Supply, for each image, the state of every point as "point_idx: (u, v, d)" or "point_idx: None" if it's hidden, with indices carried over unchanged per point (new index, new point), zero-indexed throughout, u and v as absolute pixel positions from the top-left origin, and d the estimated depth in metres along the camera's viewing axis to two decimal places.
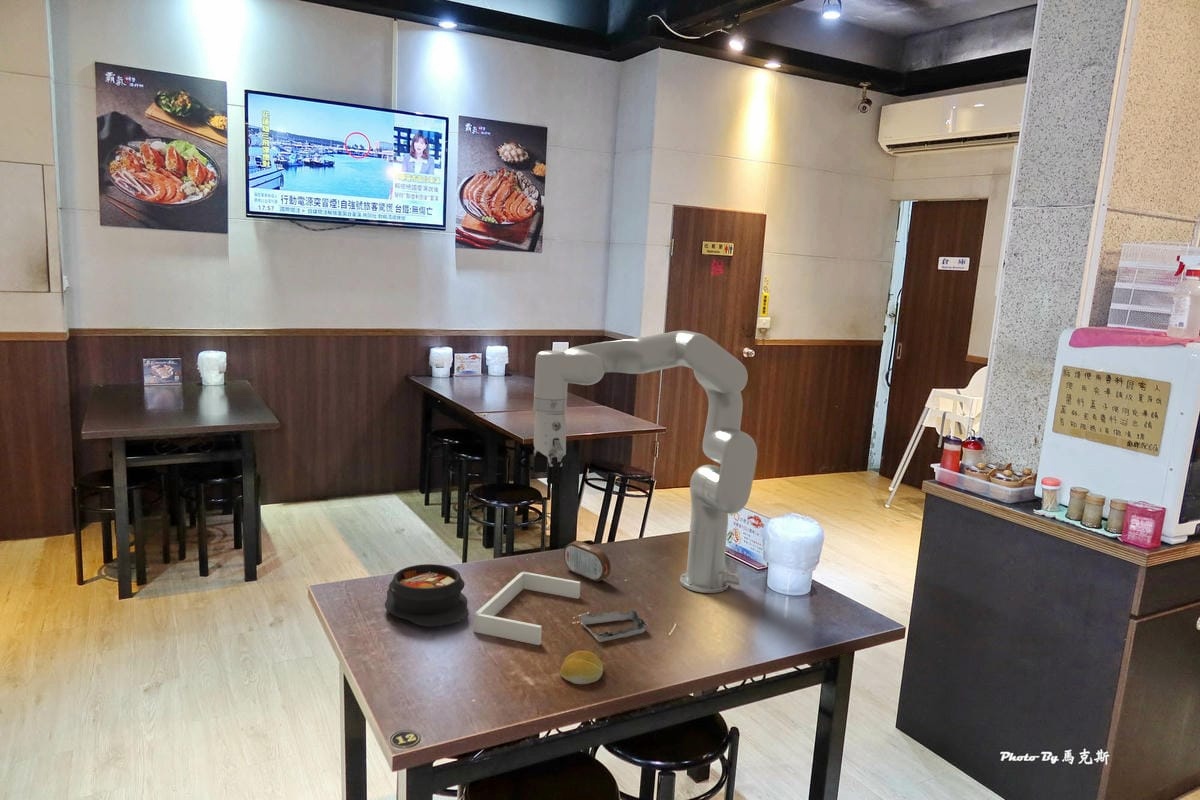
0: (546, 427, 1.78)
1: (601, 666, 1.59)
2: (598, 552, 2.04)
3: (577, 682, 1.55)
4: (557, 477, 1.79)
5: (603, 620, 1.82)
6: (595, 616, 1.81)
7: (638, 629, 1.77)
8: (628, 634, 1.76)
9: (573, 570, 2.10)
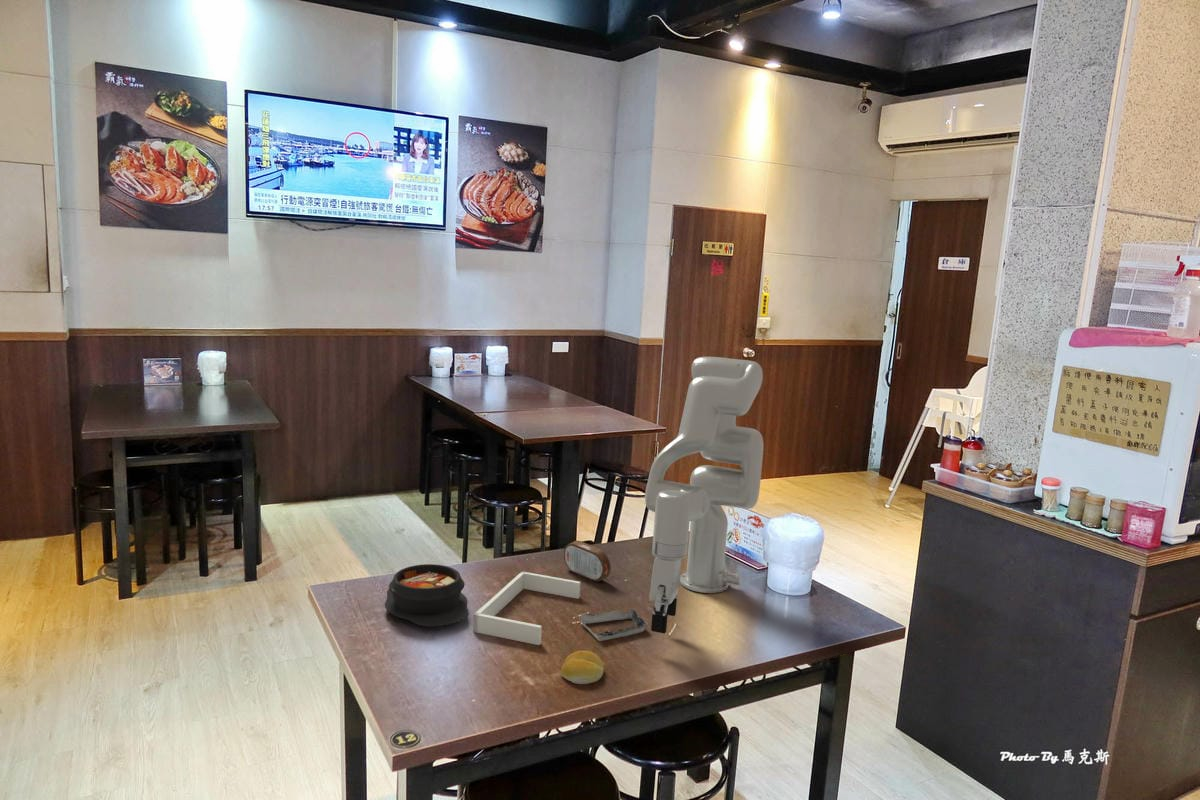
0: None
1: (602, 666, 1.59)
2: (598, 552, 2.04)
3: (578, 682, 1.55)
4: None
5: (603, 619, 1.83)
6: (594, 615, 1.82)
7: (638, 628, 1.77)
8: (628, 633, 1.76)
9: (573, 570, 2.10)
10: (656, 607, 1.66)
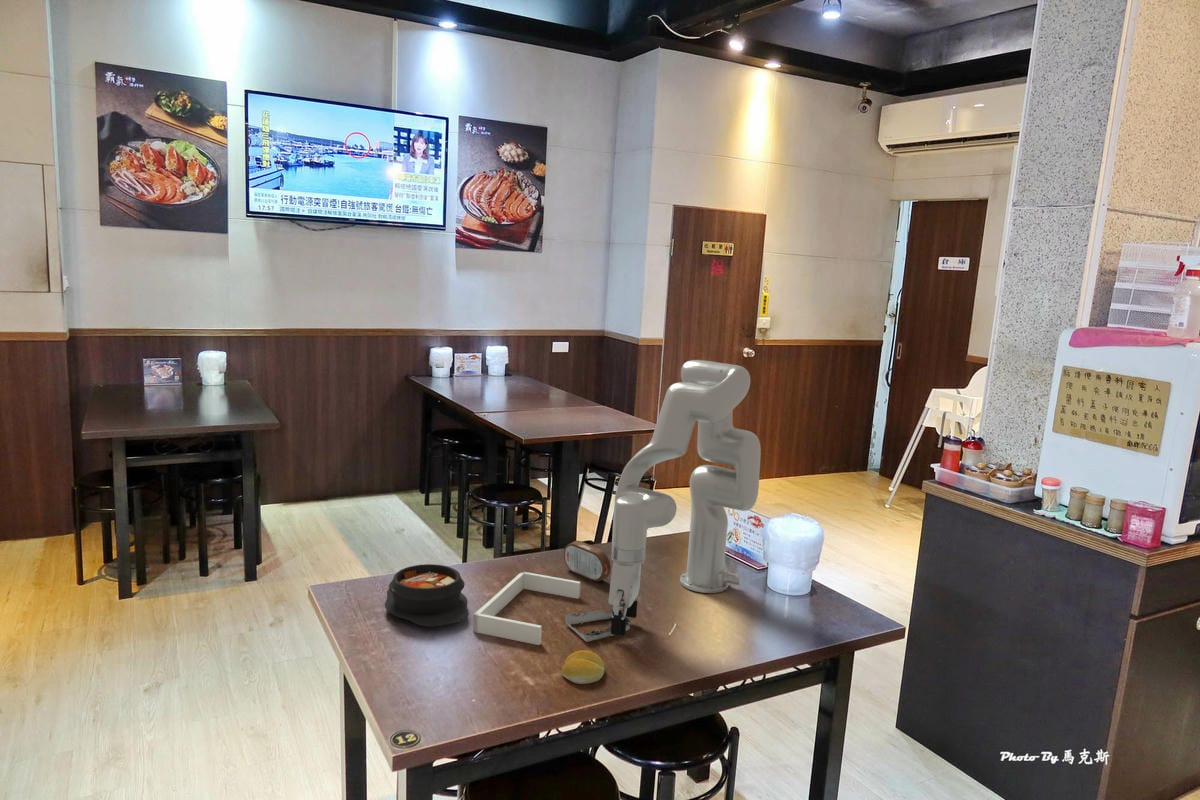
0: None
1: (602, 666, 1.59)
2: (598, 552, 2.04)
3: (579, 682, 1.55)
4: None
5: (587, 619, 1.82)
6: (579, 615, 1.81)
7: None
8: None
9: (573, 570, 2.10)
10: (614, 611, 1.69)
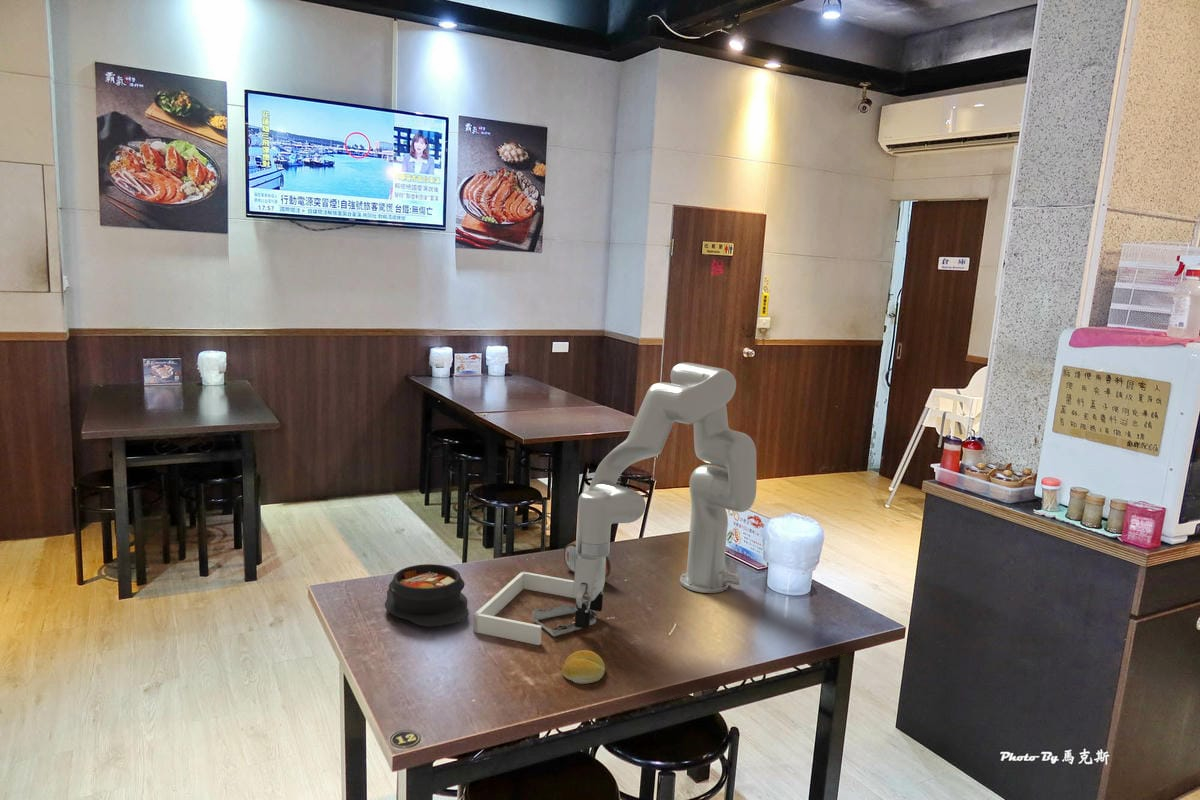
0: (605, 560, 1.81)
1: (603, 665, 1.59)
2: None
3: (579, 681, 1.55)
4: None
5: (554, 614, 1.84)
6: (545, 610, 1.82)
7: (590, 620, 1.80)
8: None
9: (573, 570, 2.10)
10: (578, 604, 1.72)
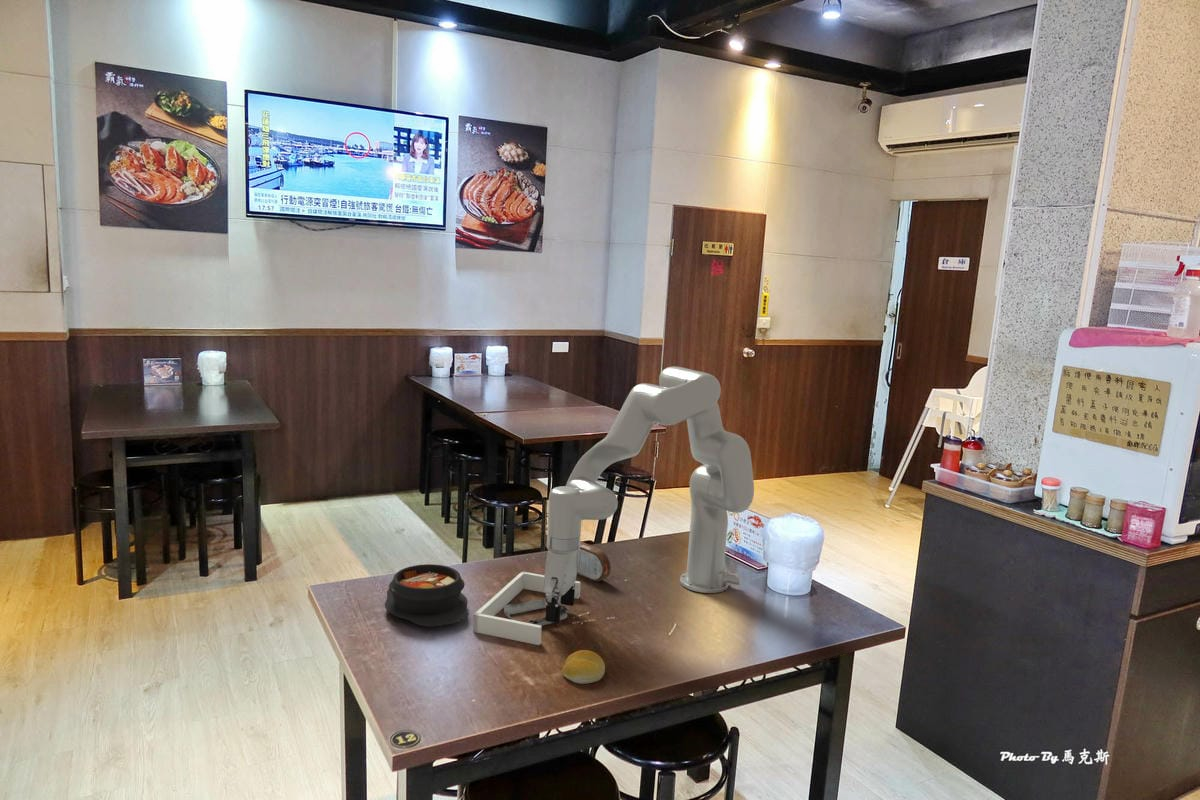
0: None
1: (603, 665, 1.59)
2: (598, 552, 2.04)
3: (579, 681, 1.55)
4: None
5: (526, 609, 1.86)
6: (517, 606, 1.84)
7: (561, 615, 1.82)
8: None
9: None
10: (547, 598, 1.74)
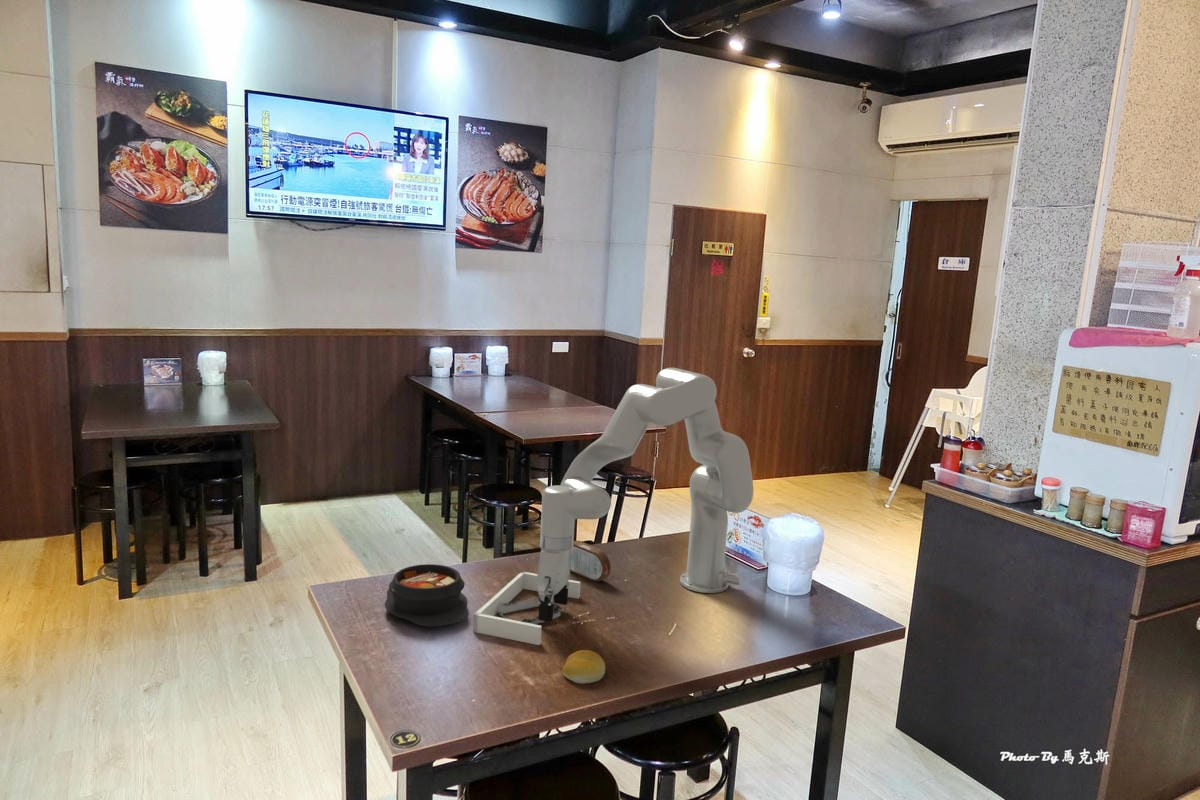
0: (570, 554, 1.84)
1: (603, 665, 1.59)
2: (598, 552, 2.04)
3: (580, 681, 1.55)
4: None
5: (519, 608, 1.86)
6: (510, 605, 1.85)
7: (554, 614, 1.82)
8: None
9: (573, 570, 2.10)
10: (540, 597, 1.74)
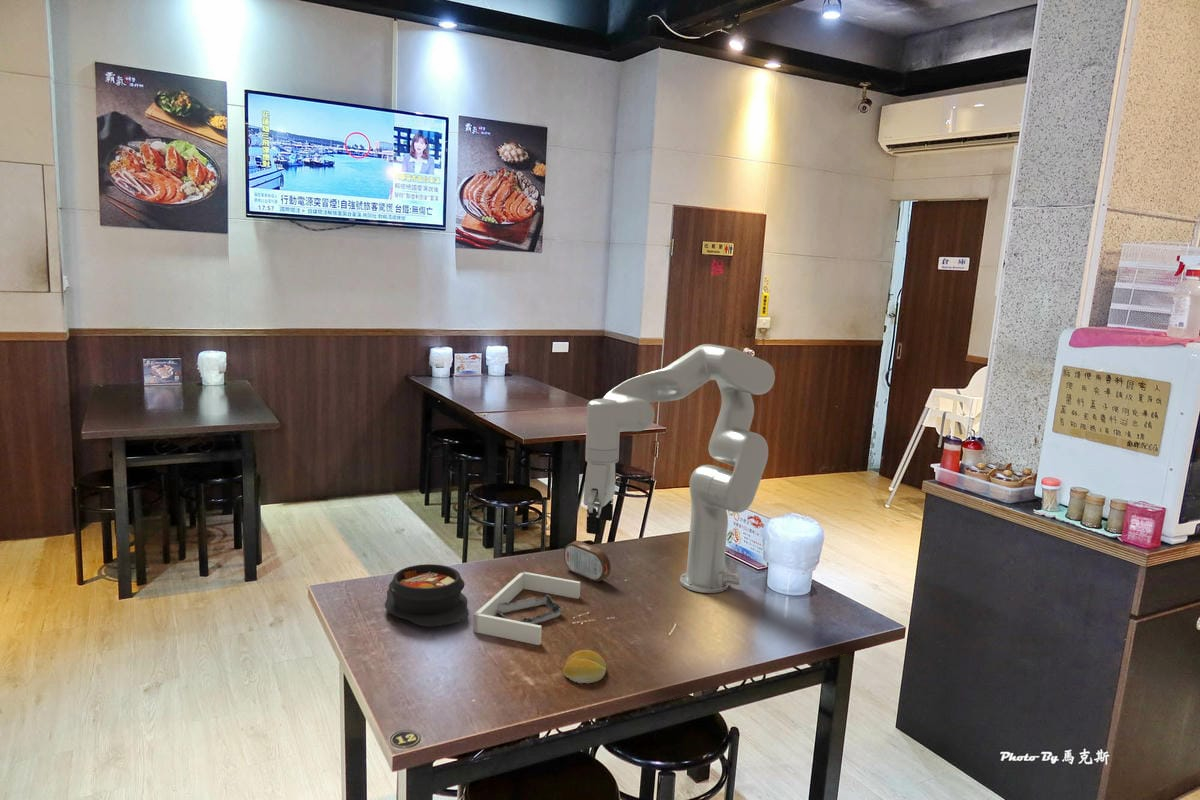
0: None
1: (604, 665, 1.59)
2: (598, 552, 2.04)
3: (580, 681, 1.55)
4: None
5: (518, 607, 1.86)
6: (510, 604, 1.85)
7: (554, 613, 1.83)
8: (545, 618, 1.81)
9: (573, 570, 2.10)
10: (589, 509, 1.74)
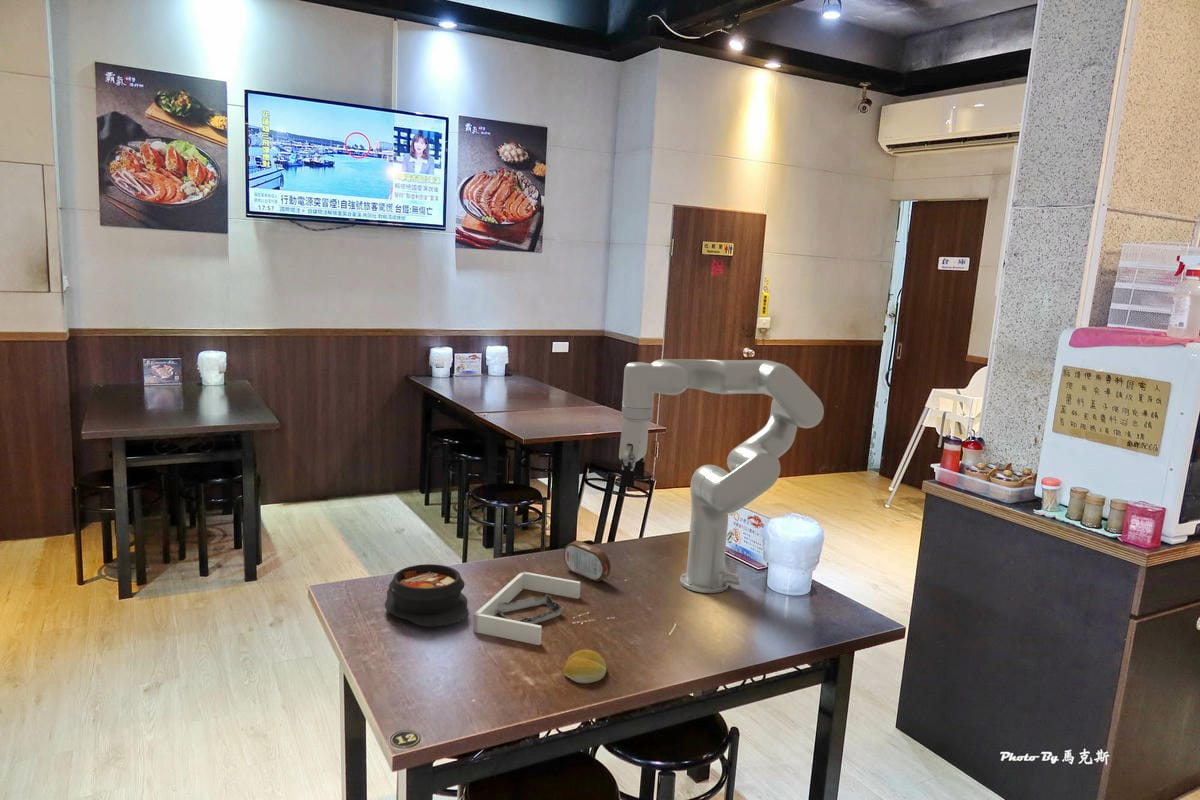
0: None
1: (604, 665, 1.59)
2: (598, 552, 2.04)
3: (581, 681, 1.55)
4: None
5: (518, 607, 1.86)
6: (510, 604, 1.85)
7: (554, 612, 1.83)
8: (545, 618, 1.82)
9: (573, 570, 2.10)
10: (624, 462, 1.88)
